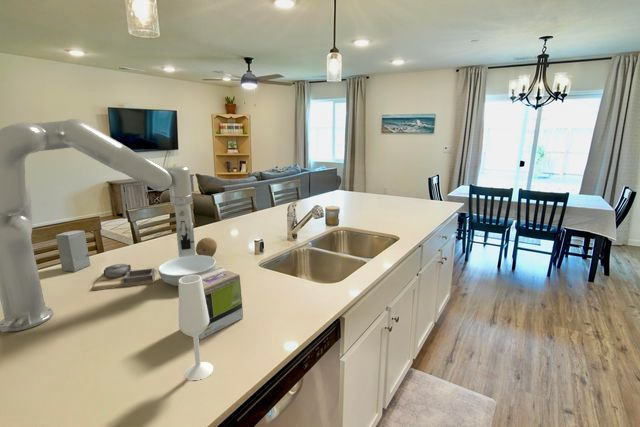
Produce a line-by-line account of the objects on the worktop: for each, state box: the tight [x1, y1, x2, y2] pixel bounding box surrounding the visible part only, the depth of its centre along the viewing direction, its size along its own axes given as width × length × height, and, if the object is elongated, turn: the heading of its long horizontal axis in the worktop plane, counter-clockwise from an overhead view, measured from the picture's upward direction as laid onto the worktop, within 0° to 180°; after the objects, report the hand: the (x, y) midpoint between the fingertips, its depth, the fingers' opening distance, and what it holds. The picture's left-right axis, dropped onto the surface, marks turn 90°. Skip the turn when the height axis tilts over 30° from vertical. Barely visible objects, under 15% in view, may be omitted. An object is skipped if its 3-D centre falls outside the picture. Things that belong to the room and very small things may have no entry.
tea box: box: [177, 267, 244, 340], centre depth 100 cm, size 15×10×15 cm
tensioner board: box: [92, 263, 159, 291], centre depth 132 cm, size 14×20×5 cm
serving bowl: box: [157, 254, 217, 287], centre depth 131 cm, size 21×21×7 cm
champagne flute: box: [178, 275, 214, 381], centre depth 78 cm, size 7×7×24 cm
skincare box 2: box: [175, 222, 196, 258], centre depth 128 cm, size 6×4×12 cm
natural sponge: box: [195, 237, 218, 257], centre depth 153 cm, size 9×9×10 cm
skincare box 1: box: [55, 230, 91, 273], centre depth 142 cm, size 8×7×16 cm
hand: (186, 246), depth 128 cm, fingers closed on skincare box 2, 4 cm apart
